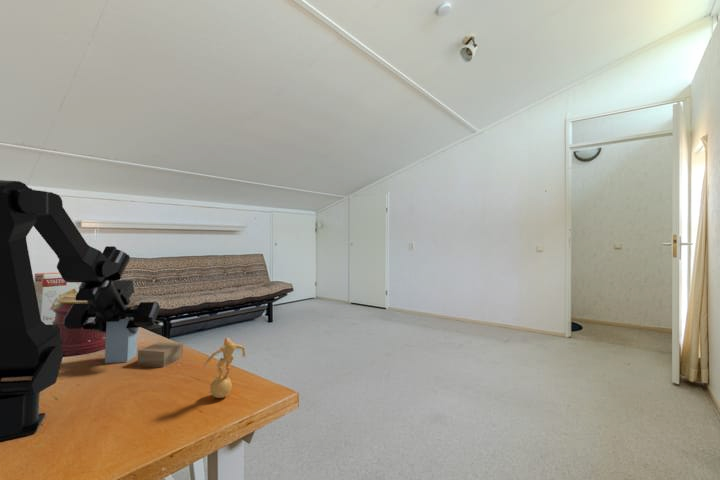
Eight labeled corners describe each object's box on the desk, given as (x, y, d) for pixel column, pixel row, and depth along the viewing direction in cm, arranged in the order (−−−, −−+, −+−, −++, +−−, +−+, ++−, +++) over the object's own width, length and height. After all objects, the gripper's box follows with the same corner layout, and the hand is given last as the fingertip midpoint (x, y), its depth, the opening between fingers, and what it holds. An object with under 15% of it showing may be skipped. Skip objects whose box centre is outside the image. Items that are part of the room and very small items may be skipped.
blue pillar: (127, 362, 81) (129, 314, 81) (104, 363, 80) (106, 315, 80) (136, 355, 86) (138, 310, 86) (115, 356, 85) (117, 311, 85)
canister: (78, 358, 83) (81, 290, 84) (37, 354, 85) (40, 288, 86) (122, 343, 96) (125, 285, 97) (85, 341, 98) (88, 283, 99)
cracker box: (39, 346, 92) (42, 273, 93) (29, 343, 95) (33, 272, 95) (95, 335, 105) (98, 271, 106) (85, 332, 107) (88, 270, 108)
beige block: (163, 368, 78) (164, 351, 78) (137, 366, 79) (138, 350, 79) (182, 358, 85) (183, 343, 85) (158, 357, 86) (159, 342, 86)
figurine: (235, 387, 68) (237, 330, 68) (250, 396, 64) (252, 335, 64) (194, 401, 61) (196, 338, 62) (208, 412, 57) (210, 344, 58)
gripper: (158, 270, 82) (172, 306, 92) (73, 270, 78) (97, 307, 88) (143, 306, 74) (160, 341, 84) (48, 308, 70) (78, 344, 80)
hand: (124, 332), depth 85 cm, fingers closed on blue pillar, 5 cm apart
